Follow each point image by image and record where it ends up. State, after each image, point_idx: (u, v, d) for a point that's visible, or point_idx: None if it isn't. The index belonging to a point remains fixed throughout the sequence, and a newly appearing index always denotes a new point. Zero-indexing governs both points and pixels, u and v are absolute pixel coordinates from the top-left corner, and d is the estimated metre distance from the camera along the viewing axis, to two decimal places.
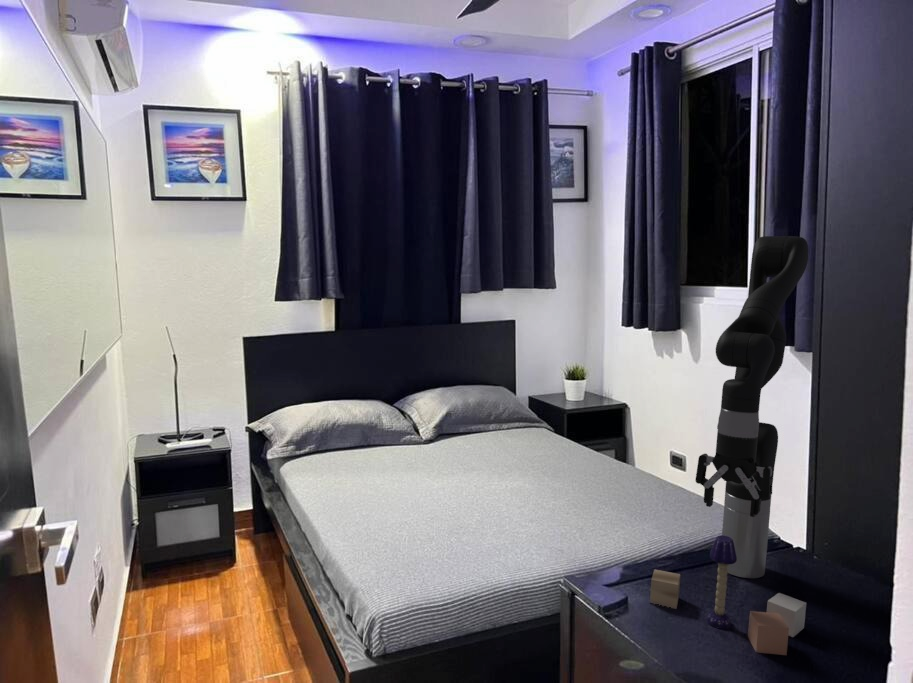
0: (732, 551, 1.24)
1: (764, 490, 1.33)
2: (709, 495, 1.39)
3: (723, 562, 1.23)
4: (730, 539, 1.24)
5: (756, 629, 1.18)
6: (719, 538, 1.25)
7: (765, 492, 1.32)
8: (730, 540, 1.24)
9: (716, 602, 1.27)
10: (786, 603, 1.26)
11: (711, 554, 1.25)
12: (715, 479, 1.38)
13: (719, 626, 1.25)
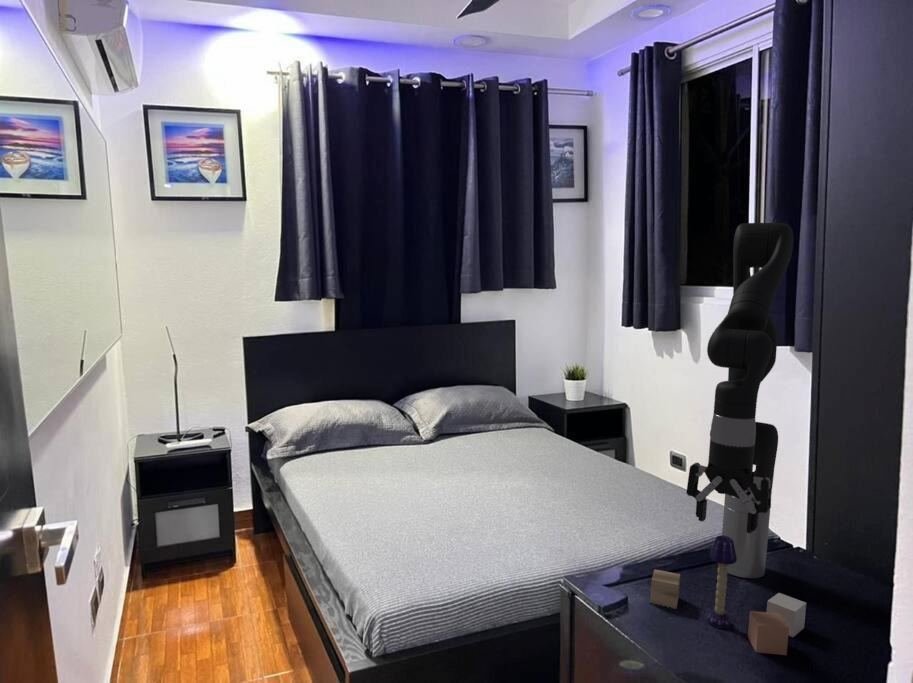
0: (732, 551, 1.24)
1: (762, 504, 1.20)
2: (701, 509, 1.26)
3: (723, 562, 1.23)
4: (730, 539, 1.24)
5: (756, 629, 1.18)
6: (719, 538, 1.25)
7: (763, 506, 1.20)
8: (730, 540, 1.24)
9: (716, 602, 1.27)
10: (786, 603, 1.26)
11: (711, 554, 1.25)
12: (708, 491, 1.25)
13: (719, 626, 1.25)
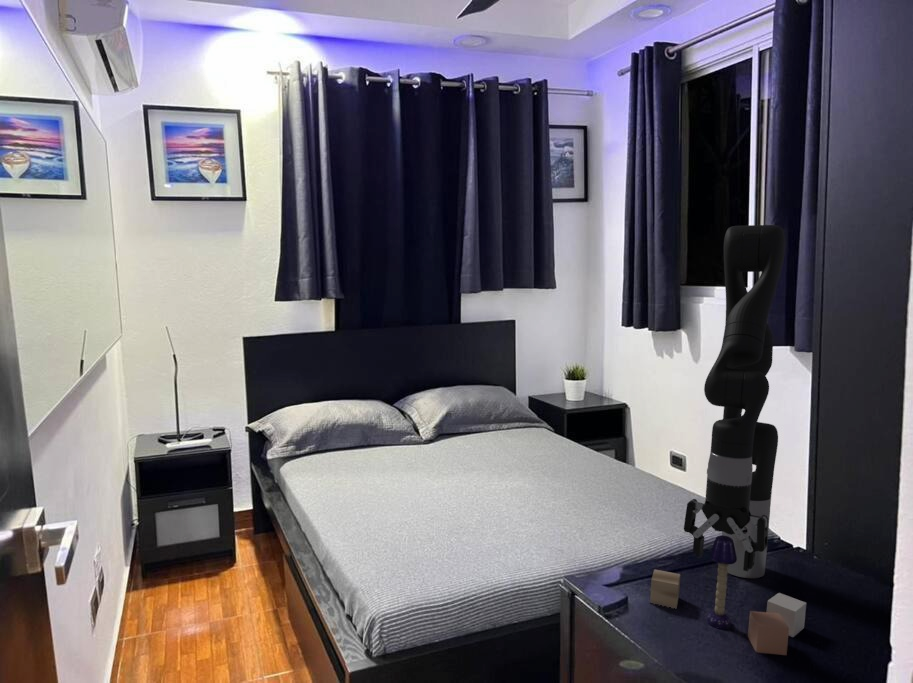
0: (732, 551, 1.24)
1: (758, 543, 1.20)
2: (699, 546, 1.27)
3: (723, 562, 1.23)
4: (730, 539, 1.24)
5: (756, 629, 1.18)
6: (719, 538, 1.25)
7: (760, 545, 1.20)
8: (730, 540, 1.24)
9: (716, 602, 1.27)
10: (786, 603, 1.26)
11: (711, 554, 1.25)
12: (705, 529, 1.26)
13: (719, 626, 1.25)
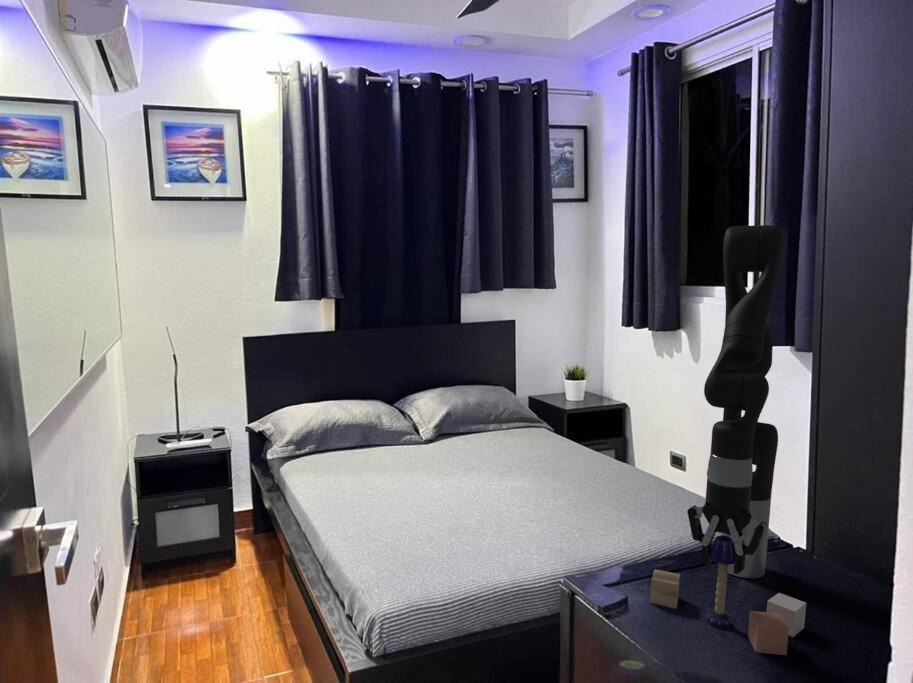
0: (732, 551, 1.24)
1: (750, 546, 1.21)
2: (707, 554, 1.26)
3: (723, 562, 1.23)
4: (730, 539, 1.24)
5: (756, 629, 1.18)
6: (719, 538, 1.25)
7: (749, 548, 1.21)
8: (730, 540, 1.24)
9: (716, 602, 1.27)
10: (786, 603, 1.26)
11: (711, 554, 1.25)
12: (710, 533, 1.25)
13: (719, 626, 1.25)
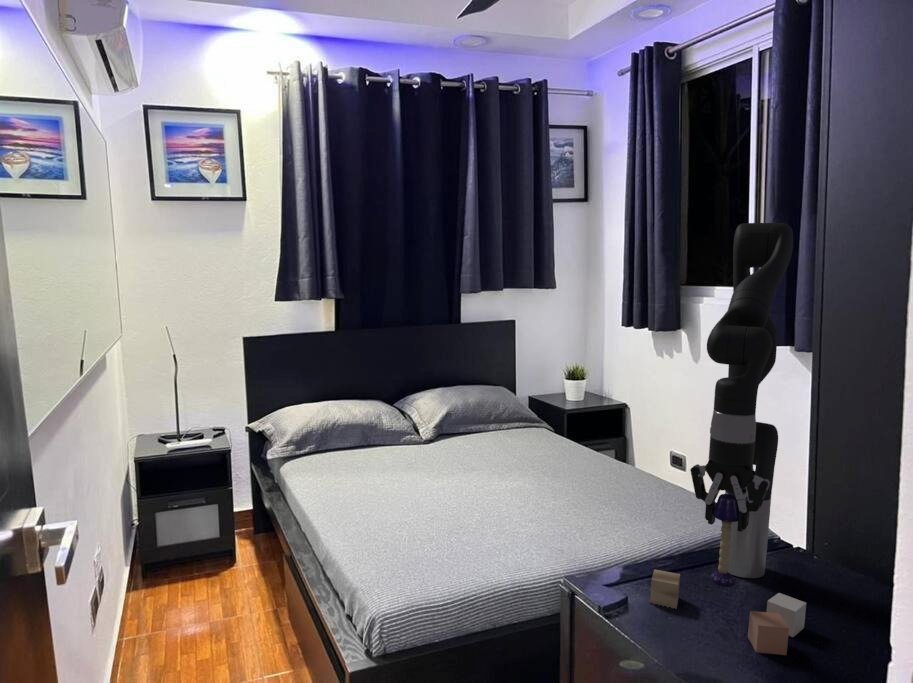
0: (735, 508, 1.23)
1: (754, 503, 1.20)
2: (711, 512, 1.25)
3: (727, 520, 1.23)
4: (733, 497, 1.24)
5: (756, 629, 1.18)
6: (722, 496, 1.24)
7: (753, 505, 1.21)
8: (734, 498, 1.23)
9: (720, 561, 1.26)
10: (786, 603, 1.26)
11: (714, 512, 1.25)
12: (714, 491, 1.24)
13: (723, 584, 1.25)
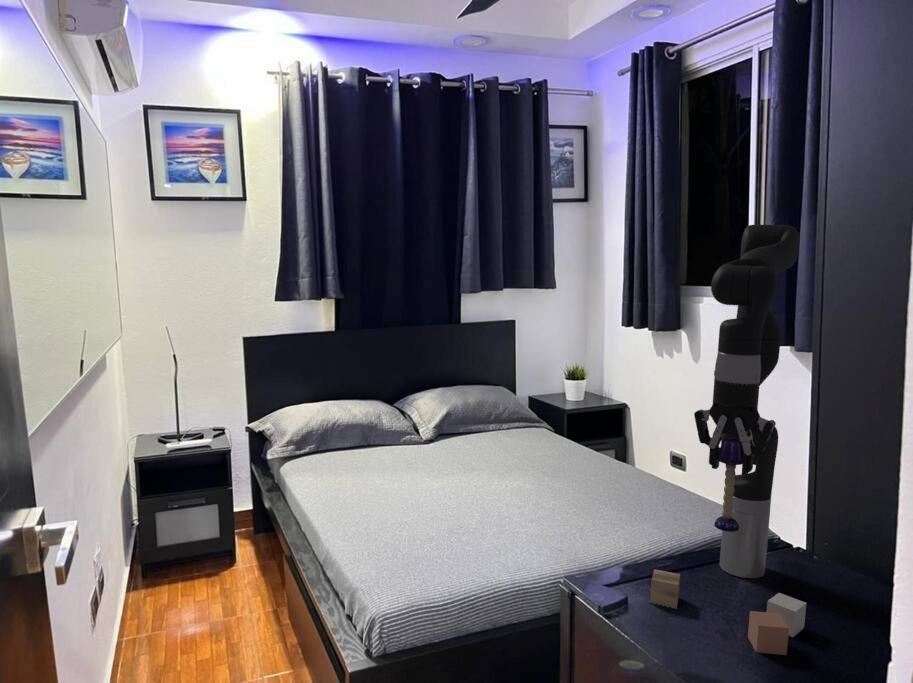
0: (740, 451, 1.21)
1: (759, 445, 1.19)
2: (715, 456, 1.24)
3: (731, 463, 1.21)
4: (738, 440, 1.22)
5: (756, 629, 1.18)
6: (727, 439, 1.23)
7: (758, 447, 1.19)
8: (738, 441, 1.22)
9: (724, 506, 1.24)
10: (786, 603, 1.26)
11: (718, 456, 1.23)
12: (718, 435, 1.23)
13: (727, 529, 1.23)
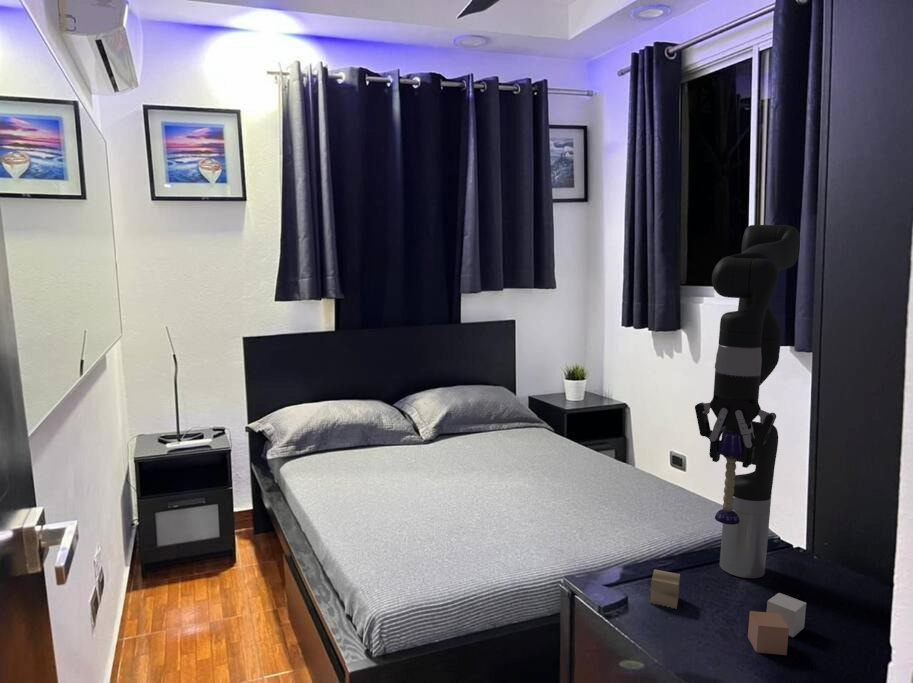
0: (740, 444, 1.21)
1: (759, 437, 1.19)
2: (715, 449, 1.24)
3: (731, 455, 1.21)
4: (738, 433, 1.22)
5: (756, 629, 1.18)
6: (727, 432, 1.23)
7: (759, 439, 1.19)
8: (738, 433, 1.22)
9: (724, 499, 1.24)
10: (786, 603, 1.26)
11: (719, 449, 1.23)
12: (718, 427, 1.23)
13: (727, 522, 1.23)
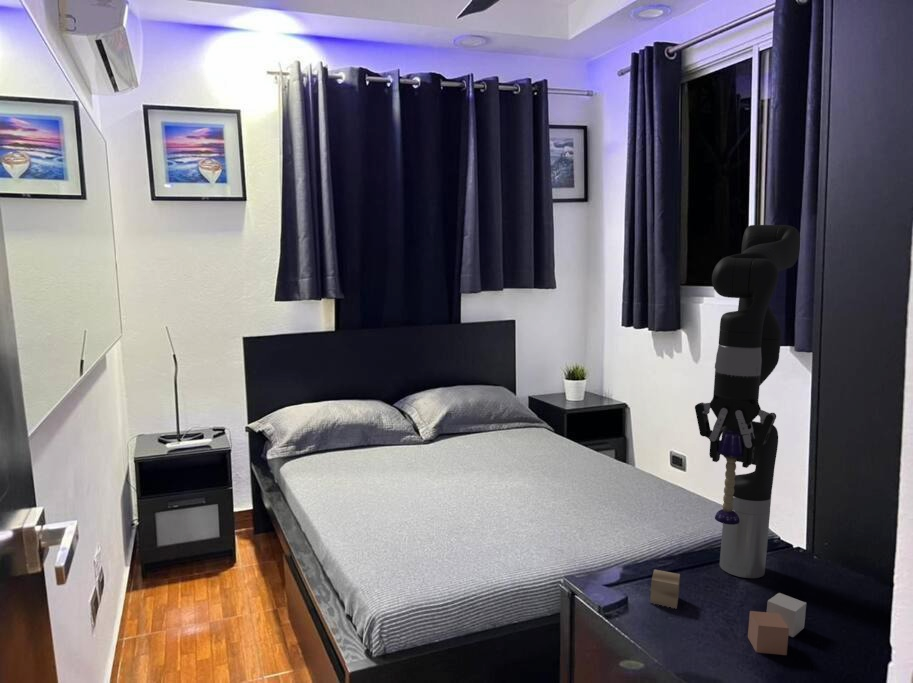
0: (740, 444, 1.21)
1: (759, 437, 1.19)
2: (715, 449, 1.24)
3: (731, 455, 1.21)
4: (738, 433, 1.22)
5: (756, 629, 1.18)
6: (727, 432, 1.23)
7: (759, 439, 1.19)
8: (738, 433, 1.22)
9: (724, 499, 1.24)
10: (786, 603, 1.26)
11: (719, 449, 1.23)
12: (718, 427, 1.23)
13: (727, 522, 1.23)
